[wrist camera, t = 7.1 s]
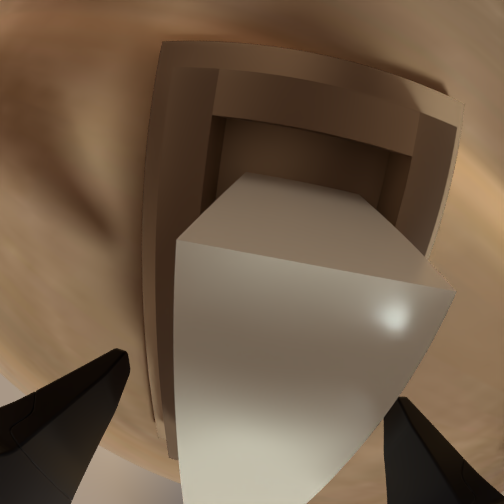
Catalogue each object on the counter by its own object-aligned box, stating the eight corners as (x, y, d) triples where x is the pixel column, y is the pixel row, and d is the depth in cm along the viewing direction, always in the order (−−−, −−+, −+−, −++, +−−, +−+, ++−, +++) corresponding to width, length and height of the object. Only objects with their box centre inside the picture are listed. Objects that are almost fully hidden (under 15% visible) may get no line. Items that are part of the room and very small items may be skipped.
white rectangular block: (358, 194, 9) (456, 292, 3) (279, 430, 13) (270, 533, 8) (246, 171, 9) (177, 239, 3) (212, 418, 13) (185, 519, 8)
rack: (453, 104, 8) (495, 101, 5) (316, 455, 15) (316, 488, 13) (171, 47, 8) (137, 26, 6) (161, 428, 16) (149, 459, 13)
